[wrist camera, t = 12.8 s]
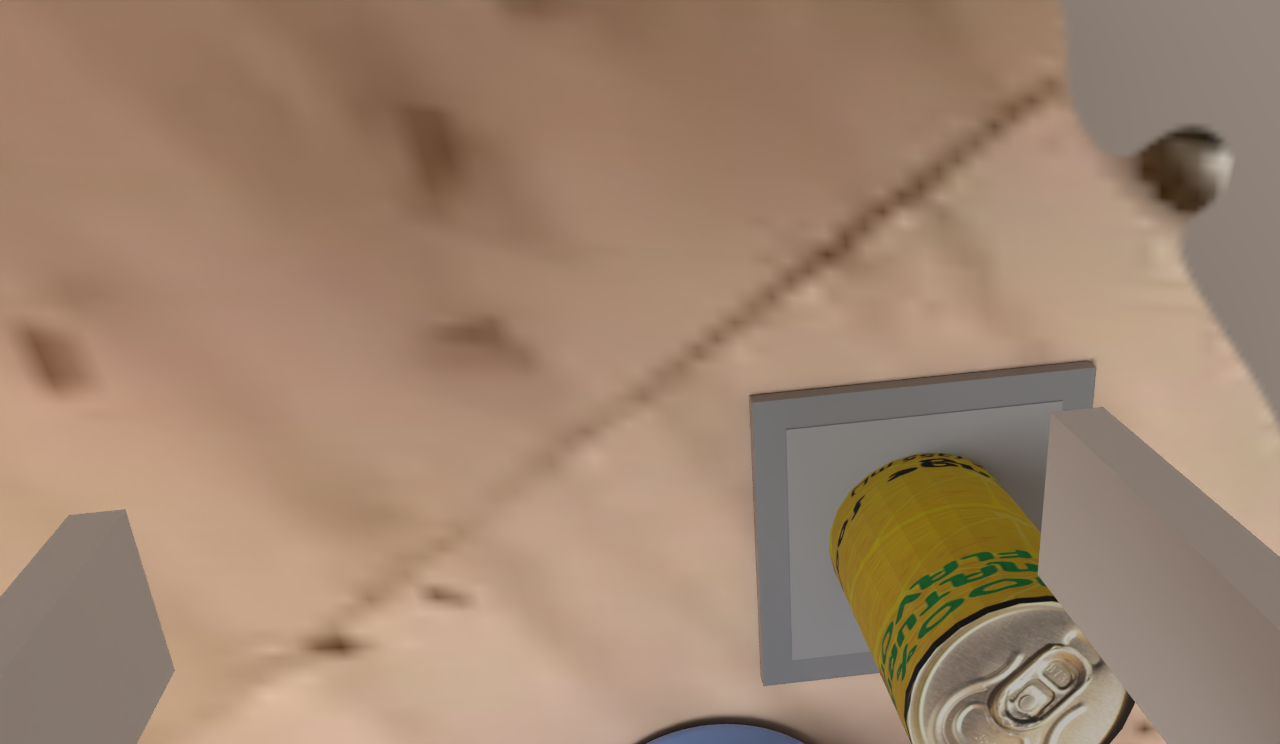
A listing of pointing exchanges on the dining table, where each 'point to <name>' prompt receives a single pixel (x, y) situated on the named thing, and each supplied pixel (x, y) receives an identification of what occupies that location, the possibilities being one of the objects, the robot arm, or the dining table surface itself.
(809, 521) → the plate
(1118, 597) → the robot arm
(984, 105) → the dining table surface
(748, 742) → the water jug
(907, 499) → the beverage can
